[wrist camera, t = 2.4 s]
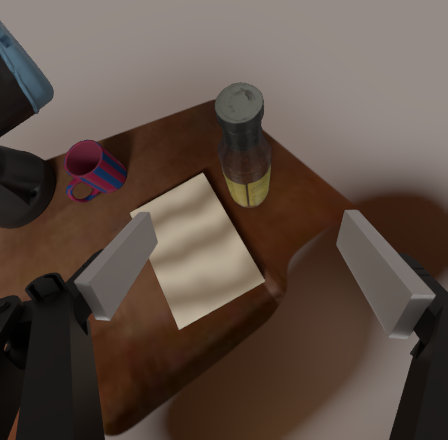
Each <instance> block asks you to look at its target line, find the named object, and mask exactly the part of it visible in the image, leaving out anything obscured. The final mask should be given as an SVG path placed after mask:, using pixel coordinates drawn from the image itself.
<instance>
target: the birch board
mask: <svg viewBox="0 0 448 440" xmlns="http://www.w3.org/2000/svg"><path fill="white" fill-rule="evenodd" d="M139 212H150V215H151V219H152V223H153V226H154V230H155V234H156V237H157V241H158V244H157V245H156V247H155V249H154V250H153V252H152V253H151V255H150V257H149V259H150V262H151V264H152V266H153V269H154V271H155V273H156V276H157V278H158V280H159V283H160V285H161V288H162V290H163V292H164V295H165V297H166V299H167V302H168V304H169V306H170V309H171V311H172V314H173V316H174V318H175V321H176V323H177V325H178V328H179V330H180V329H181V328H183V327H185V326H187V325H189V324H190V323H192V322H194V321H196V320H197V319H199V318H201V317H203V316H204V315H206V314H208V313H210V312H212V311H213V310H215V309H217V308H219V307H220V306H222V305H224V304H226V303H228V302H229V301H231V300H233V299H235V298H236V297H238V296H240V295H242V294H243V293H245V292H247V291H249V290H251V289H252V288H254V287H256V286H258V285H259V284H261V283H263V282H265V280H264V278H263V277H262V275H261V273H260V271H259V270H258V268H257V266H256V264H255V263H254V261H253V259H252V257H251V256H250V254H249V252H248V250H247V249H246V247H245V245H244V243H243V242H242V240H241V238H240V236H239V235H238V233H237V231H236V229H235V228H234V226H233V224H232V222H231V221H230V219H229V217H228V215H227V214H226V212H225V210H224V209H223V207H222V205H221V203H220V202H219V200H218V198H217V196H216V195H215V193H214V191H213V189H212V188H211V186H210V184H209V182H208V181H207V179H206V177H205V175H204V174H203V173H201V174H200V175H198V176H196V177H194V178H192V179H191V180H189V181H187V182H185V183H183V184H181V185H180V186H178V187H176V188H174V189H172V190H171V191H169V192H167V193H165V194H163V195H162V196H160V197H158V198H156V199H154V200H153V201H151V202H149V203H147V204H145V205H144V206H142V207H140V208H138V209H136V210H135V211H133V212H131V213H130V214H131V217H132V219H133V218H134V217H135V216H136V215H137V214H138V213H139Z"/></svg>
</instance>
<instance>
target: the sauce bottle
mask: <svg viewBox="0 0 448 440" xmlns="http://www.w3.org/2000/svg"><path fill="white" fill-rule="evenodd" d="M263 103H264V101H263V96H262V93H261V92H260V91H259V90H258V89H257V88H256V87H254V86H253V85H249V84H247V83H235V84H232V85H230V86H228V87H227V88H225V89H223V91H222V92H221V93H220V94H219V95H218V97H217V98H216V102H215V112H216V117H217V120H218V123H219V124H220V126H221V127H222V131H223V137H222V140H221V142H220V143H219V145H218V149H217V151H218V155H219V160H220V163H221V167H222V171H223V173H224V176H225V179H226V182H227V185H228V188H229V191H230V193H231V196H232V198H233V199H234V200H235V202H236V203H237V204H239V205H240V206H243V207H247V208H253V207H256V206H258V205H260V204H261V203H262V202H263V201H264V200H265V198H266V196H267V193H268V189H269V180H270V171H271V150H272V147H271V146H270V145H269V144H268V142H267V140H266V139H265V137H264V136H263V134H262V127H261V119H262V118H263V115H264V105H263Z"/></svg>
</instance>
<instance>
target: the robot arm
mask: <svg viewBox="0 0 448 440" xmlns="http://www.w3.org/2000/svg"><path fill="white" fill-rule="evenodd" d="M53 92H54V91H53V88H52V86H51V84H50V82H49V81H48V80H47V78H46V77H45V75H44V74H43V73H42V71H41V70H40V69H39V68H38V66H37V65H36V64H35V62H34V61H33V60H32V59H31V57H30V56H29V55H28V54H27V53H26V51H25V50H24V49H23V48H22V46H21V45H20V44H19V43H18V41H17V40H16V39H15V38H14V37H13V36H12V34H11V33H10V32H9V31H8V30H7V29H6V27H5V26H4V25H3V23H2V22H1V21H0V137H1V136H3V135H4V134H6V133H7V132H9V131H10V130H12V129H13V128H15V127H16V126H18V125H19V124H20V123H22V122H24V121H25V120H27V119H28V118H30V117H31V116H33V115H34V114H37V113H38V112H39V110H40V109H41V108H42V107H43V106H45V105H46V104H47V103H48V102H50V101H51V100H52V98H53V94H54V93H53ZM54 188H55V175H54V172H53V169H52V167H51V166H50V165H49V164H48V163H47V162H46V161H45V160H43V159H41V158H40V157H38V156H36V155H34V154H32V153H29V152H25V151H19V150H15V149H11V148H7V147H4V146H0V227H1V228H8V229H11V228H18V227H21V226H24V225H26V224H28V223H30V222H31V221H33V220H34V219H35V218H37V217H38V216H39V215H40V214H41V213H42V212H43V211H44V209H45V208H46V207H47V205H48V204H49V202H50V200H51V198H52V195H53V192H54ZM157 244H158V241H157V237H156V234H155V230H154V226H153V223H152V219H151V215H150V212H139V213H138V214H137V215H136V216H135V217H134V218H133V219H132V220H131V221H130V222H129V223H128V224H127V225H126V227H125V228H124V229H123V230H122V231H121V232H120V233H119V234H118V235H117V236H116V237H115V238H114V239H113V240H112V241H111V242H110V244H109V245H108V246H107V247H106V248H105V249H101V250H99V251H98V252H96V253H95V254H93V255H92V256H91V257H90V258H89V259H88V260H87V262H85V263H84V264H83V265H82V267H80V268H79V269H78V270H77V272H76V273H75V274H74V275H73V276H72V277H71V278H70V279H69V280H68V281H67V282H66V283H65V282H64V280H63V279H62V277H61V276H60V274H58V273H49V274H45V275H42V276H40V277H38V278H36V279H35V280H33V281H32V282H31V283H30V284H29V285H28V286H27V287H26V289H25V291H26V293H27V294H28V295H29V297H30V298H31V299H32V300H30V301H25V302H22V301H21V300H20V298H19V297H18V296H15V295H12V296H7V297H4V298H1V299H0V440H7V439H8V437H9V434H10V431H11V429H12V426H13V423H14V421H15V418H16V415H17V413H18V410H19V407H20V411H19V418H18V425H17V433H16V440H105V437H104V429H103V421H102V414H101V406H100V398H99V391H98V383H97V375H96V367H95V360H94V352H93V344H92V337H91V329H90V323H89V321H88V319H87V318H88V317H89V316H90V314H91V313H93V315H94V317H95V318H96V320H111V318H112V316H113V315H114V313H115V312H116V310H117V308H118V307H119V305H120V303H121V302H122V300H123V299H124V297H125V295H126V294H127V292H128V291H129V289H130V287H131V286H132V284H133V282H134V281H135V279H136V278H137V276H138V274H139V273H140V271H141V270H142V268H143V266H144V265H145V263H146V261H147V260H148V258H149V257H150V255H151V253H152V252H153V250H154V249H155V247H156V245H157ZM336 245H337V247H338V249H339V251H340V252H341V254H342V256H343V258H344V260H345V261H346V263H347V265H348V267H349V268H350V270H351V272H352V274H353V275H354V277H355V279H356V280H357V282H358V284H359V286H360V288H361V290H362V291H363V293H364V295H365V297H366V299H367V300H368V302H369V304H370V306H371V307H372V309H373V311H374V313H375V315H376V316H377V318H378V320H379V322H380V323H381V325H382V327H383V329H384V330H385V332H386V334H387V336H388V337H389V338H402V339H408V338H409V336H410V335H411V333H412V332H413V330H414V331H415V333H416V334H417V336H418V337H419V341H418V342H417V344H416V345H415V347H414V348H413V350H412V351H411V353H410V354H411V355H412V356H413V358H412V361H411V365H410V368H409V372H408V376H407V379H406V382H405V386H404V389H403V393H402V396H401V400H400V403H399V407H398V410H397V414H396V417H395V421H394V424H393V428H392V431H391V435H390V439H389V440H448V292H447V291H446V290H445V289H444V288H443V287H442V286H441V285H440V284H439V283H438V282H437V281H436V280H435V279H434V278H433V277H431V276H430V274H429V273H428V272H427V271H426V270H424V268H423V267H422V266H421V265H420V264H419V263H418V262H417V261H416V260H415V259H413V258H412V257H410V256H408V255H407V254H405V253H397V252H396V251H395V250H394V249H393V248H392V247H391V246H390V245H389V244H388V242H387V241H386V240H385V239H384V238H383V237H382V236H381V235H380V234H379V233H378V232H377V230H376V229H375V228H374V227H373V226H372V225H371V224H370V223H369V222H368V221H367V220H366V218H365V217H364V216H363V215H362V214H361V213H360V212H359V211H358V210H345V212H344V216H343V220H342V224H341V228H340V232H339V236H338V240H337V244H336ZM5 344H7V347H6V349H5V351H4V347H5Z"/></svg>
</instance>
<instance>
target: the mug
mask: <svg viewBox="0 0 448 440" xmlns="http://www.w3.org/2000/svg"><path fill="white" fill-rule="evenodd" d="M64 168H65V170H66V172H67V173H68V174H69V175H70V176H72V177H74V179H73V180H72V181H71V182H70V183H69V185H68V186H67V189H66V194H67V196H68V197H69V198H70V199H72V200H73V201H76V202H80V203H85V202H88V201H90V200H92V199H93V198H94V197H95V196H96V195H97V194H98V193H99V192H102V193H112V192H114V191H116V190H118V189H119V188H120V187H121V186H122V185H123V184H124V182H125V180H126V175H127V173H126V168H125V167H124V165H123V164H122V163H121V162H119V161H118V160H117V159H116V158H115V157H114V156H112V155H111V154H110V153H109V152H108V151H107V150H106V149H104V148H103V147H102V146H101V145H100V144H99V143H97V142H95V141H93V140H84V141H80V142H78V143H76V144H75V145H73V146H72V147H71V148H70V150H69V151H68V152H67V154H66V156H65V159H64ZM81 182H83V183H85V184H86V185H88V186H90V187H92V188H93V191H92V192H91V194H90V195H89V196H87V197H86V198H84V199H76V198H75V197H74V196H73V194H72V190H73V188H74V187H75V186H76V185H77V184H79V183H81Z"/></svg>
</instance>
